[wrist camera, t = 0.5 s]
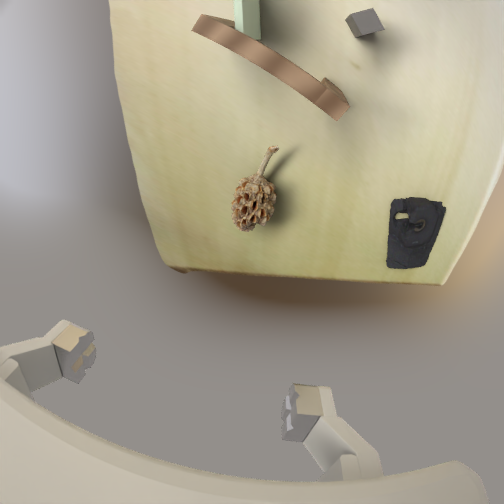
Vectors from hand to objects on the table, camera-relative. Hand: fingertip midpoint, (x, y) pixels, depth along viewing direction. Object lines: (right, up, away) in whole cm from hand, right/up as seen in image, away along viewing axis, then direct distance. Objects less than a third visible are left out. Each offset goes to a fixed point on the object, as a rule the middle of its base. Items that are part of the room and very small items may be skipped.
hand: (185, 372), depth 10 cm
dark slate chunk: (+43, +9, +52) cm, 68 cm away
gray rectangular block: (+22, +45, +24) cm, 56 cm away
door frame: (+8, +41, +32) cm, 53 cm away
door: (+3, +49, +26) cm, 55 cm away
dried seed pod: (+5, +22, +52) cm, 56 cm away
